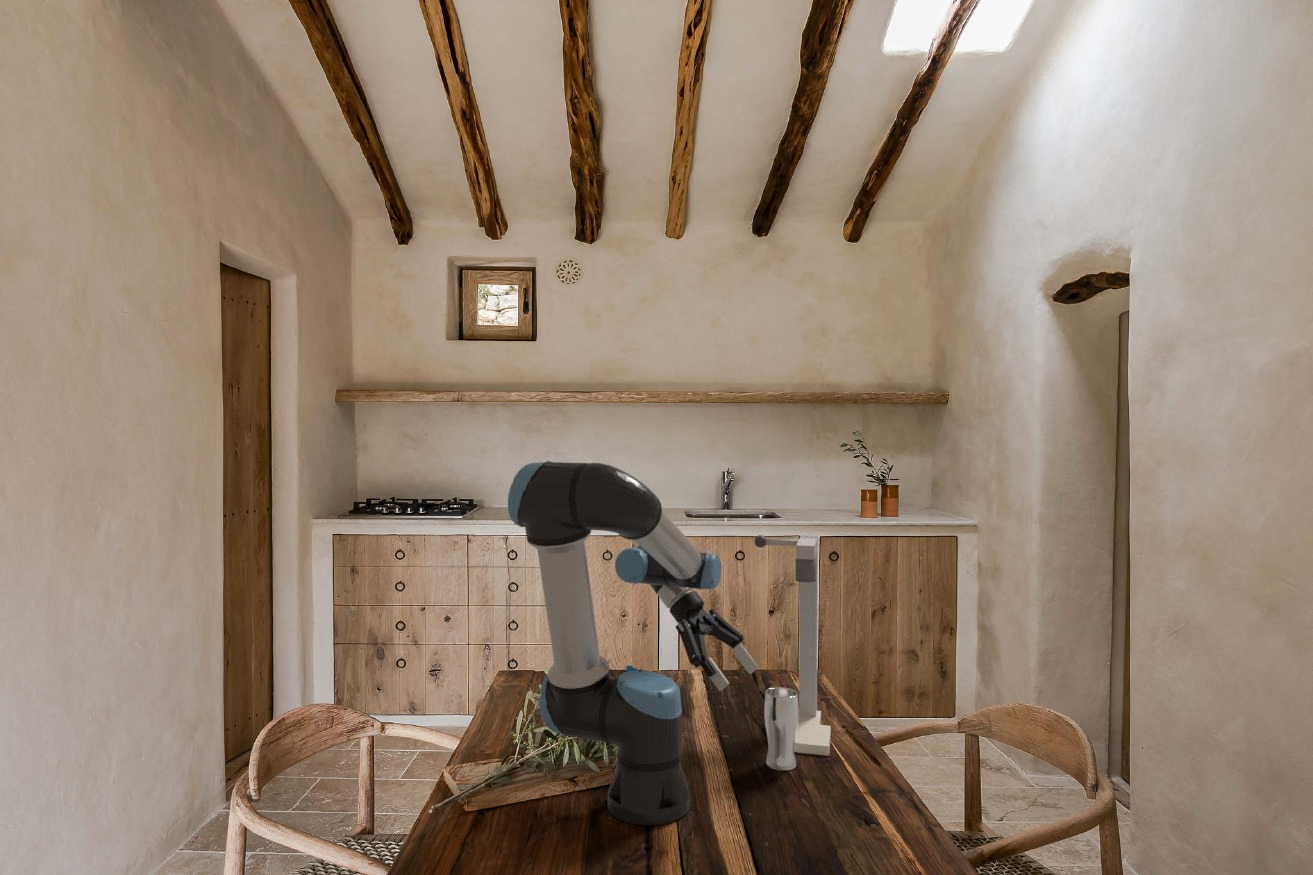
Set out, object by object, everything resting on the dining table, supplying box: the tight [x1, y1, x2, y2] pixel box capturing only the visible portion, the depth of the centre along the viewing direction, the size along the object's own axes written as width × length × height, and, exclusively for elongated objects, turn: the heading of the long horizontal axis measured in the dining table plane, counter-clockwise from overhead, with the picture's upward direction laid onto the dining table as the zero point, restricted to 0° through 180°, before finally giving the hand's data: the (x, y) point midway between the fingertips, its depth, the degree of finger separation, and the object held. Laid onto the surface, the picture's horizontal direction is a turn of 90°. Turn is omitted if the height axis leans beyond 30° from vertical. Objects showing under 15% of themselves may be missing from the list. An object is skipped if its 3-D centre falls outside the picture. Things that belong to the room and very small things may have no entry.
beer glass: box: [763, 686, 799, 772], centre depth 159 cm, size 7×7×15 cm
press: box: [753, 534, 832, 757], centre depth 175 cm, size 21×18×44 cm
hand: (740, 678), depth 165 cm, fingers open, 13 cm apart
